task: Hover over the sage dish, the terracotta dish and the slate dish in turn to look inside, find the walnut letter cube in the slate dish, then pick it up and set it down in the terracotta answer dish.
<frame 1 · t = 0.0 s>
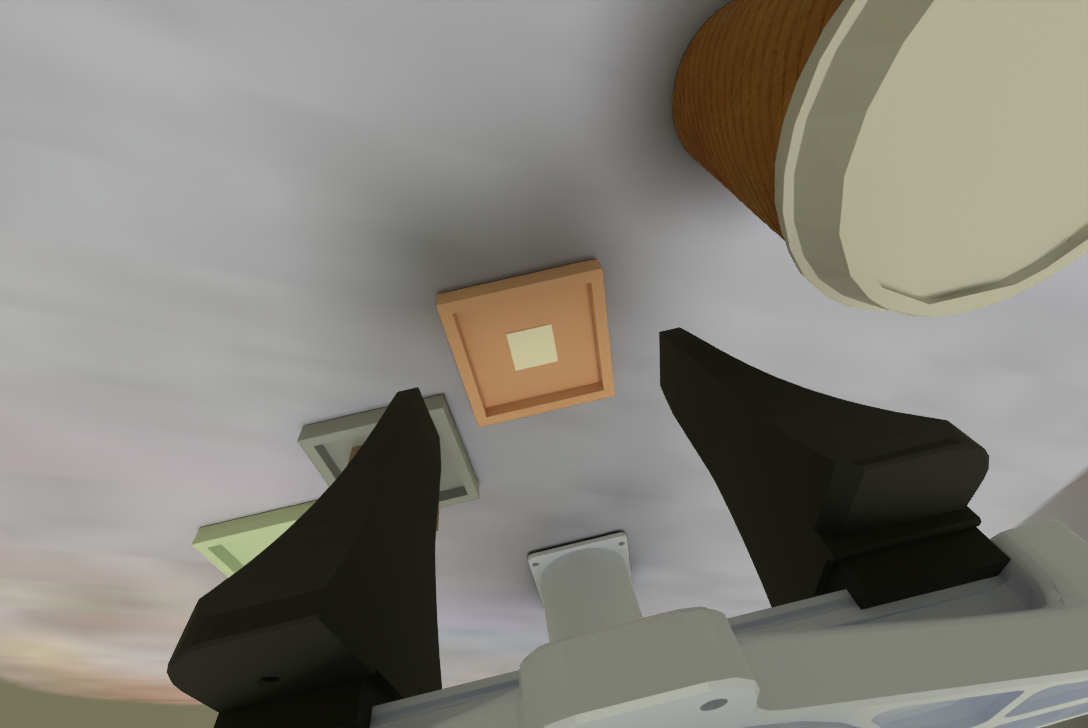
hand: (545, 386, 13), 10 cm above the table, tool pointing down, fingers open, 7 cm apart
terracotta dish: (531, 343, 24), on the table
slate dish: (398, 457, 28), on the table
sage dish: (294, 547, 31), on the table
disposable coffee cup: (741, 88, 19), on the table
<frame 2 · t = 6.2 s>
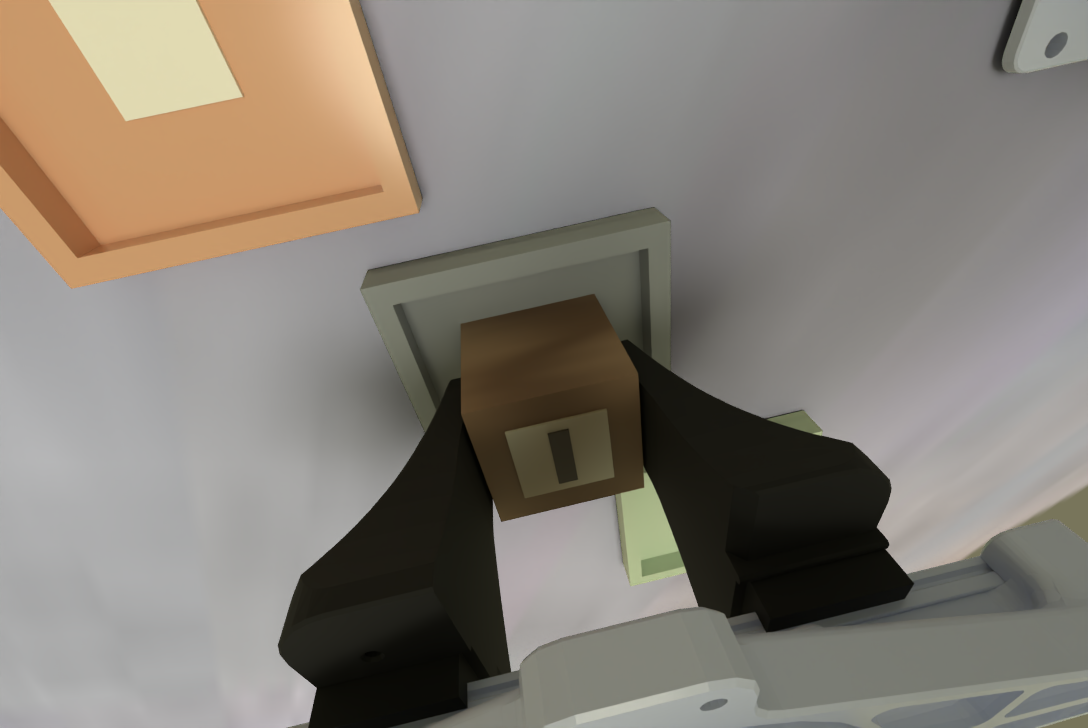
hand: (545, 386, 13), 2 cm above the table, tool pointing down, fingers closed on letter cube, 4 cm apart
terracotta dish: (158, 37, 9), on the table
slate dish: (537, 356, 15), on the table
letter cube: (539, 363, 14), resting on slate dish, touching gripper
sage dish: (703, 495, 20), on the table
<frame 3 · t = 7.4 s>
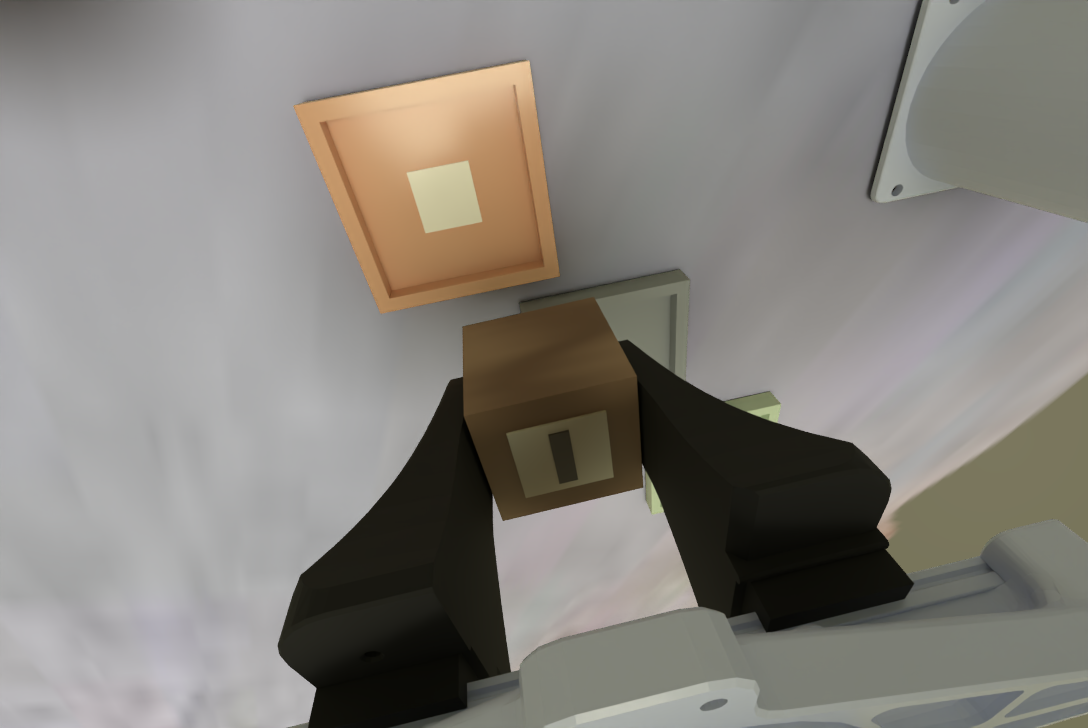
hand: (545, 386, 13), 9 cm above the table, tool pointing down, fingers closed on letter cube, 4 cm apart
terracotta dish: (446, 195, 18), on the table
slate dish: (605, 353, 24), on the table
letter cube: (539, 364, 15), point 8 cm above the table, touching gripper
sage dish: (703, 450, 30), on the table
when the fingers open (4 cm above the table, at t = 9.0 s): letter cube drops 2 cm, resting on terracotta dish.
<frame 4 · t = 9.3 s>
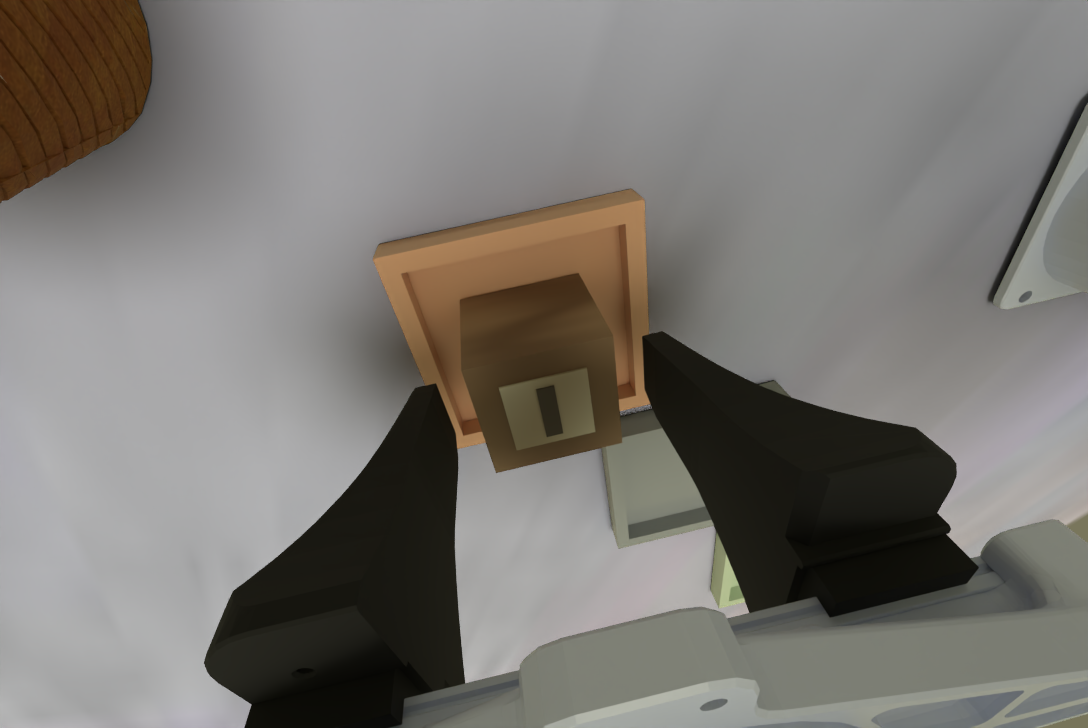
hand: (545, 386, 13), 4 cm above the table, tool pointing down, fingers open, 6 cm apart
terracotta dish: (529, 325, 16), on the table
slate dish: (685, 462, 22), on the table
letter cube: (530, 336, 16), point 1 cm above the table, touching terracotta dish
sage dish: (776, 542, 28), on the table
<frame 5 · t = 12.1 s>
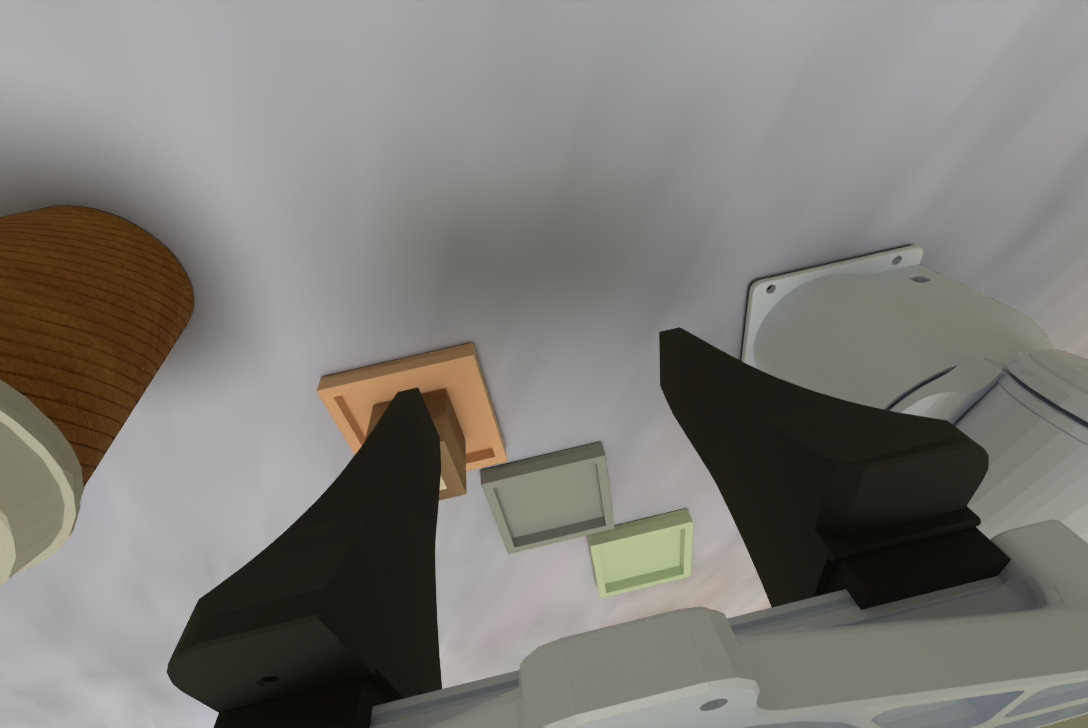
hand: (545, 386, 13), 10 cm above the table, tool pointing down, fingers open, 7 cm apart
terracotta dish: (422, 415, 26), on the table
slate dish: (550, 494, 32), on the table
letter cube: (421, 423, 26), resting on terracotta dish
sage dish: (638, 548, 37), on the table
disposable coffee cup: (111, 278, 19), on the table
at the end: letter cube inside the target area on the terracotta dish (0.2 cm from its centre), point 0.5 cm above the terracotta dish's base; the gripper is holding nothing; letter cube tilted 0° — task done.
